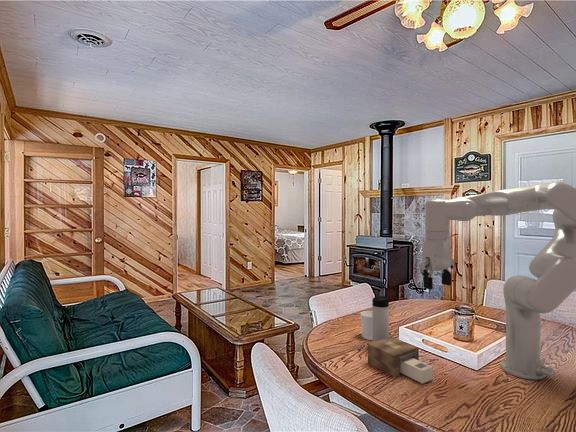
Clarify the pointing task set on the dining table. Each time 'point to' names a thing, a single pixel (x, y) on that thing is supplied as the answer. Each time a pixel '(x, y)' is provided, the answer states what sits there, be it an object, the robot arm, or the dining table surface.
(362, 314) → the white cup
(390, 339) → the box
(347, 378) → the dining table surface
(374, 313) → the travel mug
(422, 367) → the cream rectangular block
